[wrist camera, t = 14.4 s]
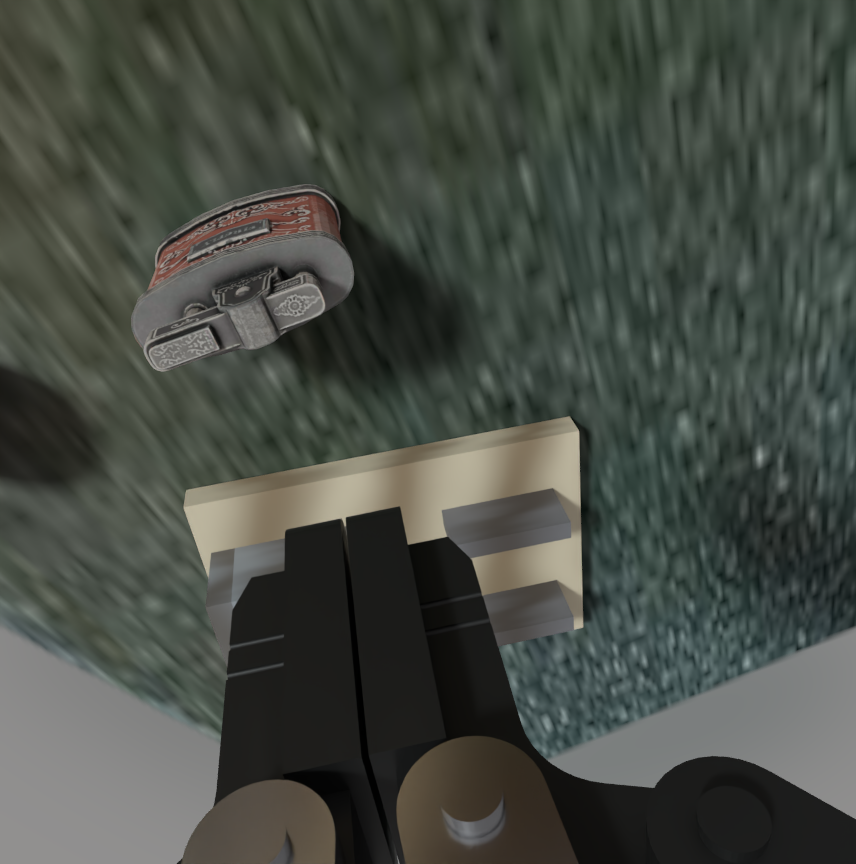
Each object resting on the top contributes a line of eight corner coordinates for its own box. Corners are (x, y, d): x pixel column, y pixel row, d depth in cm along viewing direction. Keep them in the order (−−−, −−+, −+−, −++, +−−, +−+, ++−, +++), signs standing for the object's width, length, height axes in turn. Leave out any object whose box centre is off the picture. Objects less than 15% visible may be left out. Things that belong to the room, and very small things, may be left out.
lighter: (322, 167, 33) (339, 238, 25) (350, 242, 35) (375, 331, 26) (142, 233, 33) (97, 327, 25) (179, 304, 35) (150, 414, 27)
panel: (569, 416, 41) (607, 473, 37) (575, 610, 49) (606, 678, 44) (186, 490, 40) (175, 559, 35) (251, 679, 47) (249, 757, 42)
